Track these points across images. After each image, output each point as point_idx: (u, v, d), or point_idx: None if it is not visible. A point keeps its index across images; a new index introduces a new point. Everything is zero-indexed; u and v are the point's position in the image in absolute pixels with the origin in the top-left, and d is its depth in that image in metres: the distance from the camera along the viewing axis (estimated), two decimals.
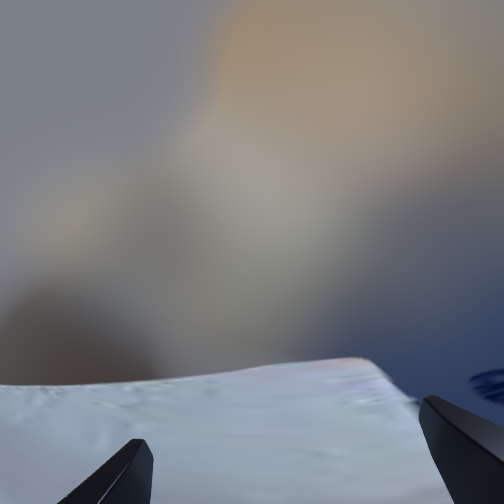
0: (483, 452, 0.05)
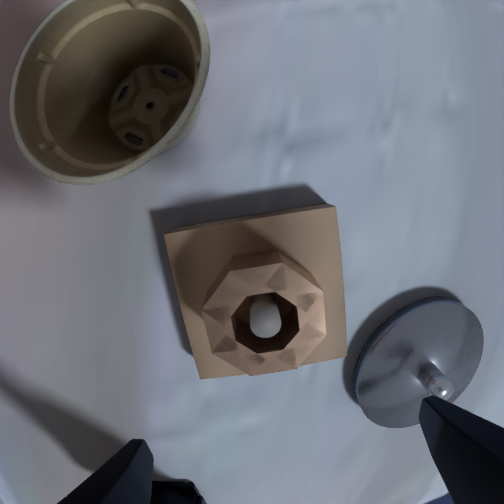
0: (483, 452, 0.05)
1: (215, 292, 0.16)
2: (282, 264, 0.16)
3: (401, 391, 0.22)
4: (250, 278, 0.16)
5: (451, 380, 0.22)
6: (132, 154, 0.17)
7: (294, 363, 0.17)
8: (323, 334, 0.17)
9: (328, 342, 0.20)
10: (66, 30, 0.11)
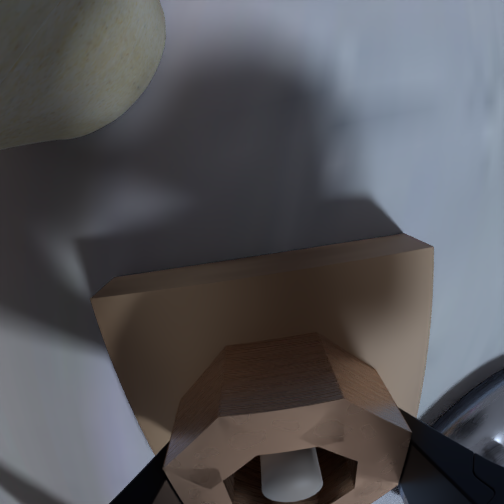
0: (439, 472, 0.05)
1: (188, 447, 0.06)
2: (343, 402, 0.06)
3: None
4: (266, 429, 0.06)
5: None
6: None
7: None
8: (393, 485, 0.07)
9: None
10: None
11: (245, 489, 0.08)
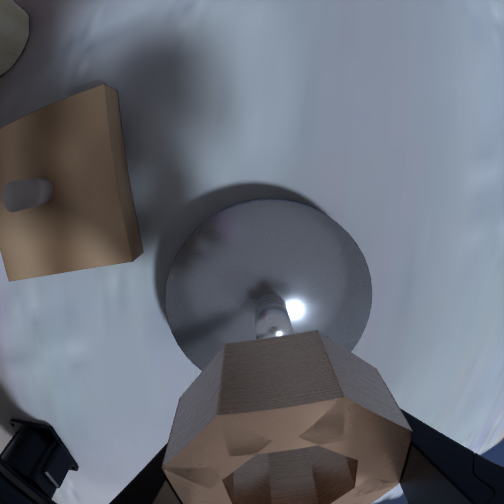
0: (439, 472, 0.05)
1: (187, 446, 0.06)
2: (343, 400, 0.06)
3: (234, 331, 0.18)
4: (265, 427, 0.06)
5: (322, 328, 0.18)
6: None
7: None
8: (393, 484, 0.07)
9: (107, 239, 0.17)
10: None
11: (245, 488, 0.08)
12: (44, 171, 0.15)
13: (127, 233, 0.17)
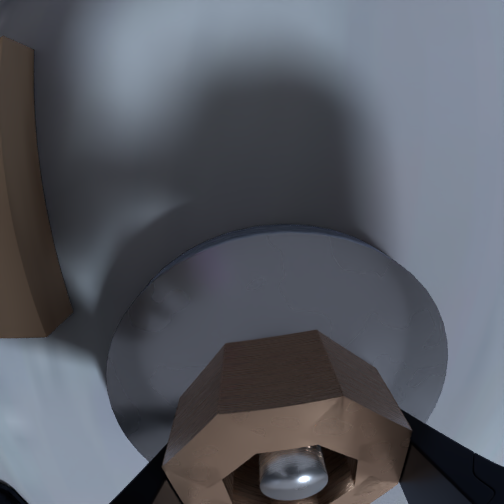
0: (439, 473, 0.05)
1: (187, 445, 0.06)
2: (343, 399, 0.06)
3: None
4: (265, 426, 0.06)
5: None
6: None
7: None
8: (393, 484, 0.07)
9: (7, 298, 0.08)
10: None
11: (244, 488, 0.08)
12: None
13: (34, 289, 0.08)
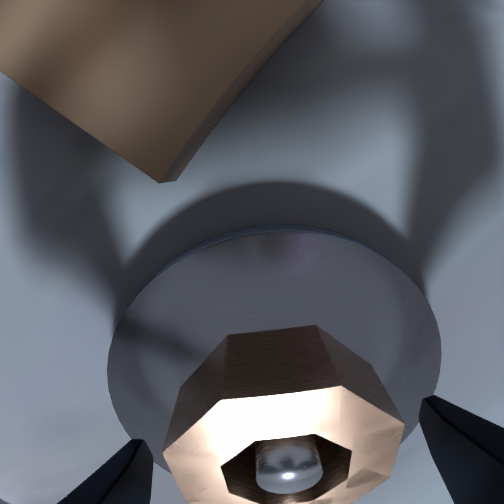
0: (483, 452, 0.05)
1: (189, 431, 0.07)
2: (340, 389, 0.06)
3: None
4: (266, 413, 0.06)
5: None
6: None
7: None
8: (385, 477, 0.07)
9: (153, 110, 0.07)
10: None
11: (241, 477, 0.08)
12: None
13: (194, 132, 0.08)
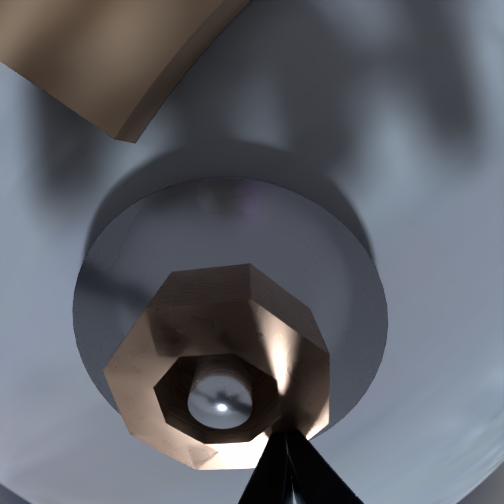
0: None
1: (122, 344, 0.08)
2: (250, 302, 0.07)
3: None
4: (185, 325, 0.08)
5: None
6: None
7: None
8: (323, 422, 0.09)
9: (112, 83, 0.08)
10: None
11: (181, 413, 0.09)
12: None
13: (143, 98, 0.09)
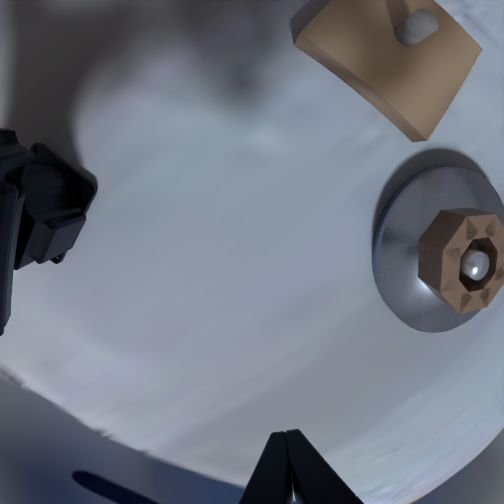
0: None
1: (455, 234, 0.16)
2: (495, 215, 0.16)
3: None
4: (477, 224, 0.16)
5: None
6: None
7: (487, 301, 0.17)
8: None
9: (424, 111, 0.17)
10: None
11: None
12: None
13: None
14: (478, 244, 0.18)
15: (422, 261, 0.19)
